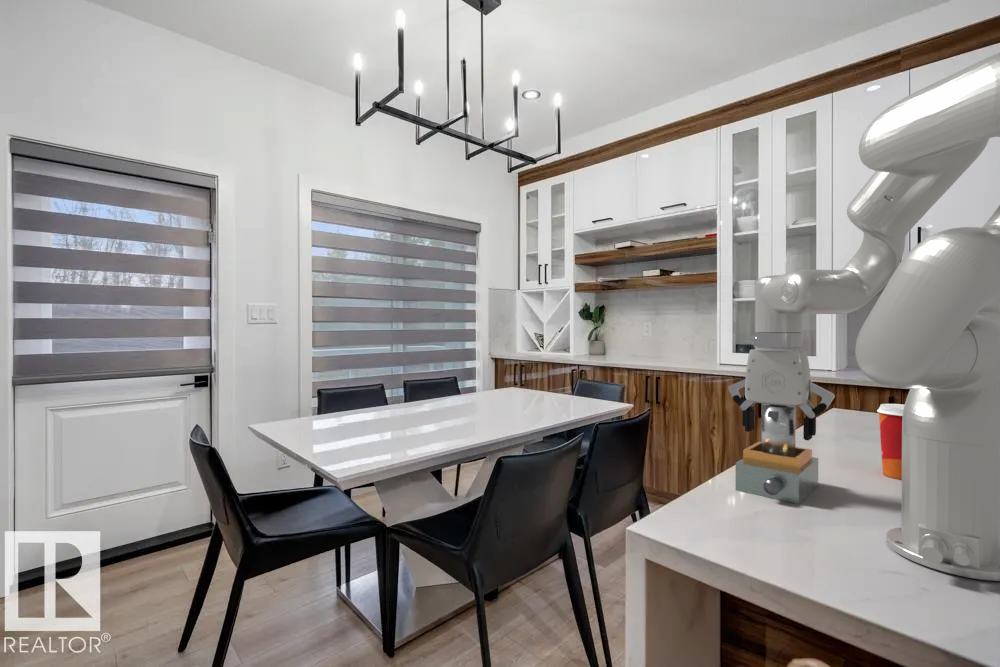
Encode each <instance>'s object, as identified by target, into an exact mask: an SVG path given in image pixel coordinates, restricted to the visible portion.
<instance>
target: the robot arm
mask: <svg viewBox="0 0 1000 667" xmlns="http://www.w3.org/2000/svg"><path fill="white" fill-rule="evenodd" d="M992 138H1000V52H997V53H995V54H992V55H991V56H988V57H985V58H984V59H982V60H980V61H977V62H975V63H973V64H971V65H969V66H967V67H965V68H963V69H960V70H959V71H956V72H955V73H952V74H951V75H948V76H946V77H944V78H941V79H940V80H937V81H936V82H934V83H931V84H929V85H927V86H926V87H924V88H921V89H920V90H917V91H915V92H913V93H911V94H909V95H907V96H905V97H903V98H902V99H900V100H898V101H896V102H895V103H893V104H892V105H890V106H888V107H887V108H886V109H884V110H883V111H882V112H880V113H879V114H878V115H877V116H876V117H875V118H874V119H873V120H872V121H871V122H870V124H868V125H867V127H866V129H865V130H864V132H863V134H862V135H861V138H860V141H859V144H858V155H859V159H860V162H862V163H861V164H863V165H864V166H865V167H867V168H868V170H872V171H874V173H873V174H872V175H871V176H870V177H869V179H868V180H867V181H866V182H865V184H864V185H863V186H862V188H860V190H859V192H858V193H857V194H856V195H855V196H854V197H853V199H851V201H850V202H849V204H848V206H847V209H846V215H847V218H848V219H849V220H850V222H851V223H852V224H853V225H854V226H855V227H856V228H857V229H859V230H860V231H861V232H863V239H862V243H861V244H860V246H859V248H858V250H857V252H856V253H855V254H854V255H853V256H852V258H851V259H850V260H849V261H848V262H847V263H846V264H845V266H844V267H842V268H841V269H797V270H793V271H789V272H787V273H784V274H778V275H776V274H775V275H766V276H762V277H760V278H758V279H757V281H756V282H755V285H754V286H755V287H754V296H755V297H754V312H755V313H754V333H753V334H752V335H748V336H747V337H746V342H747V344H752V345H753V347H754V349H749V351H748V352H749V353H748V357H747V361H746V362H747V363H746V369H745V370H746V371H745V379H743V380H740V381H737V382H735V383H733V384H731V385H728V386H727V389H728V392H729V393H730V395H731V397H732V400H733V402H734V403H736V404H737V405H738V407H739V409H740V410H741V411H742V426H743V427H744V432H745V433H746V432H747V433H748V432H751V431H754V430H755V409H753V406H754V405H755V404H756V403H758V404H773V405H783V406H795V407H799V408H800V410H802V412H803V413H804V414H805V417H803V437H802V438H803V440H805V441H810V440H811V439H813V436H814V437H815V436H816V433H817V416H819V415H820V414H821V413H823V412H824V411H825V410H827V409H828V408H829V406H830V405H831V404H832V402H833V400H834V399H835V397H836V395H835V393H833V392H831V391H829V390H827V389H825V388H823V387H822V386H819V385H817V384H815V383H814V382H812V380H811V379H812V378H811V370H810V364H809V363H810V362H809V357H808V354H807V353H808V352H807V351H806V350H805V349H804V350H803V315H845V314H851V313H853V312H856V311H857V310H859V309H861V308H862V307H864V306H866V305H867V304H868V303H869V302H870V301H871V300H873V298H874V297H876V295H877V294H878V293H880V291H881V292H882V293H881V294H880V295H879V297H878V299H877V300H876V301H875V304H874V305H873V307H872V309H871V310H870V312H869V314H868V315H867V317H866V319H865V321H864V322H863V324H862V325H861V328H860V330H859V332H858V335H857V337H856V341H855V349H854V351H855V360H856V363H857V366H858V367H859V370H860V371H861V372H862V373H863V374H864V376H866V377H867V378H868V379H869V380H871V381H873V382H874V383H877V384H879V385H882V386H885V387H889V388H894V389H909V391H908V394H907V396H906V400H905V402H904V410H903V417H902V480H901V500H900V501H901V503H900V504H901V508H900V509H901V512H900V513H901V514H900V516H901V518H900V519H901V521H900V522H901V523H900V527H896V528H892V529H890V530H888V531H887V532H886V538H885V539H886V544H887V545H888V546H889V547H890V548H891V549H892V550H893V551H894V552H896V553H897V554H899V555H900V556H901V557H904V558H906V559H908V560H909V561H912V562H914V563H916V564H919V565H922V566H924V567H928V568H930V569H933V570H937V571H939V572H943V573H946V574H951V575H955V576H958V577H964V578H969V579H975V580H981V581H994V582H1000V323H998V322H997V321H995V320H993V319H991V318H989V317H986V316H983V315H979V314H978V313H1000V204H999V205H998V207H997V208H996V209H995V210H994V212H993V213H992V215H991V216H990V217H989V218H988V220H987V221H986V223H985V224H984V225H983V226H982V227H980V226H979V227H977V226H976V227H975V226H961V227H954V228H949V229H944V230H942V231H938V232H935V233H934V234H932V235H930V236H928V237H926V238H924V239H923V240H922V241H920V242H919V243H918V244H917V245H915V246H914V247H913V248H912V249H911V250H910V251H908V253H907V254H906V255H905V256H904V252H905V246H906V237H907V235H908V234H909V232H910V231H911V230H913V228H914V227H915V226H916V225H917V223H919V221H920V220H921V219H922V218H923V217H924V216H925V215H926V214H927V213H928V211H929V210H930V209H931V208H932V207H933V206H934V205H936V203H937V202H938V201H939V200H940V199H941V198H942V197H943V195H945V193H946V192H948V190H949V189H950V188H951V187H952V186H953V185H954V184H955V183H956V181H957V180H959V178H961V176H962V175H963V174H964V173H965V172H966V171H967V170H968V169H969V168H970V167H971V165H973V163H974V162H975V161H976V160H977V159H978V158H979V157H980V155H982V153H983V152H984V150H985V148H986V147H987V145H988V143H989V140H990V139H992ZM903 256H904V257H903ZM902 258H903V259H902ZM882 290H883V291H882ZM742 388H744V396H745V398H744V397H743V396H742V395H741V393H740V391H739V390H740V389H742ZM812 393H813V394H815V395H817V396H819V397H821V401H820V402H819V404H818V405H816V406H814V405H813V404H812V403H811V400H812Z"/></svg>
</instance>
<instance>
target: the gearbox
mask: <svg viewBox="0 0 1000 667" xmlns="http://www.w3.org/2000/svg"><path fill="white" fill-rule="evenodd" d="M742 452H743V454H742V456H743V458H742V459H739V460H738V461H735V491H738V492H739V491H740V492H744V493H748V494H751V495H756V496H761V497H765V498H769V499H774V500H779V501H783V502H786V501H787V502H788V503H791V504H795V503H796V505H800V504H801V502H803V501H804V499H806V497H807V496H808V495H809V494H810V493H811V492H812V491H813V490H814V489H815V488H817V486H818V485H819V458H818V457H813V449H811V448H805V447H797V446H795V457H789V456H784V455H778V454H772V453H766V452H762V441H757V442H755V443H753V444H752V445H749V446H748V447H746V448H744V449H743V450H742Z"/></svg>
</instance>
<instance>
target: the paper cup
mask: <svg viewBox="0 0 1000 667" xmlns="http://www.w3.org/2000/svg"><path fill="white" fill-rule="evenodd" d="M904 405H905V403H904V404H900V403H880V405H879V407H878V409H877V410H876V412H877V413H878V416H879V417H878V419H879V435H880V450H881V464H882V473H883V476H885V477H886V478H887V477H888V478H890V479H893V480H898V481H902V417H903V410H904Z"/></svg>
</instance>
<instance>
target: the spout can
mask: <svg viewBox="0 0 1000 667" xmlns="http://www.w3.org/2000/svg"><path fill="white" fill-rule="evenodd" d="M796 407H797V406H783V405H773V404H763V403H761V442H762V452H766V453H772V454H778V455H784V456H789V457H795V447H796V439H797V438H796V427H797V426H796V421H797V420H796V419H797V418H796V416H797V415H796V413H797V412H796V409H797V408H796Z"/></svg>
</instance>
